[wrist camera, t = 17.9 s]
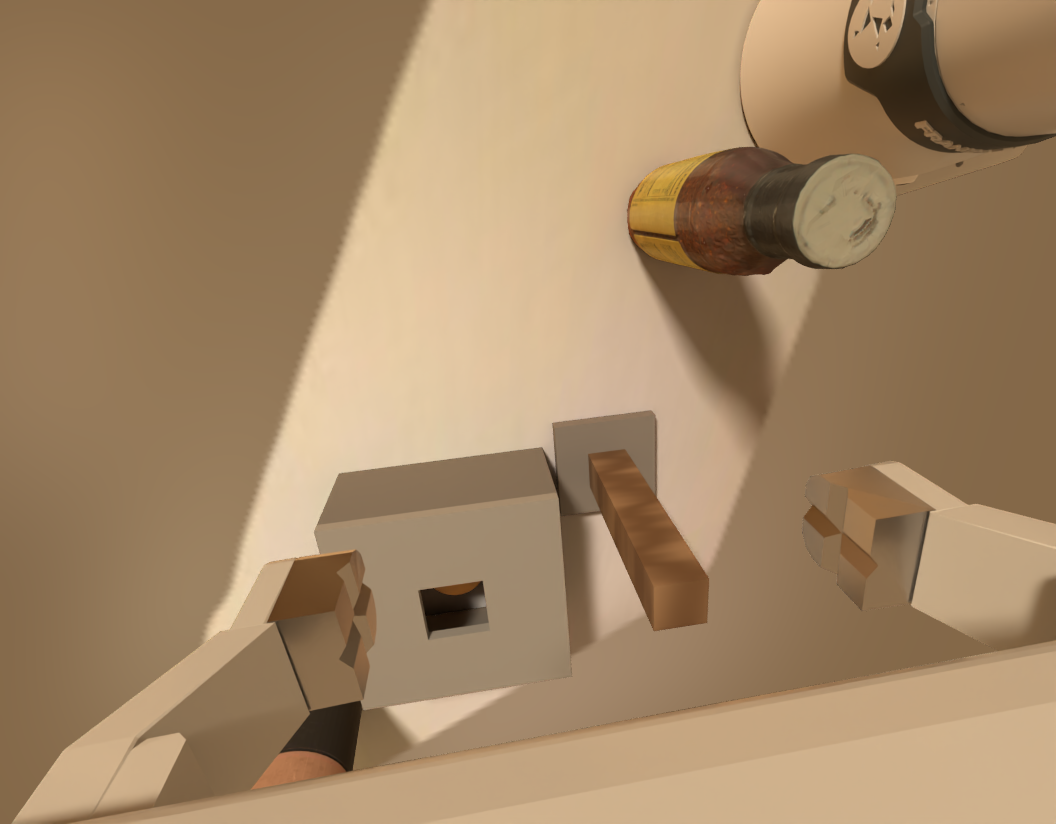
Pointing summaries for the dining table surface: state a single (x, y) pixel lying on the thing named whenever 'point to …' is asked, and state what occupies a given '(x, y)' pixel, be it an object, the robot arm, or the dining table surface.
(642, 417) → the pad
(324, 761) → the travel mug
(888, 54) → the robot arm
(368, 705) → the box
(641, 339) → the dining table surface
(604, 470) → the brown wooden bar
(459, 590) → the button
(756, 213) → the sauce bottle
